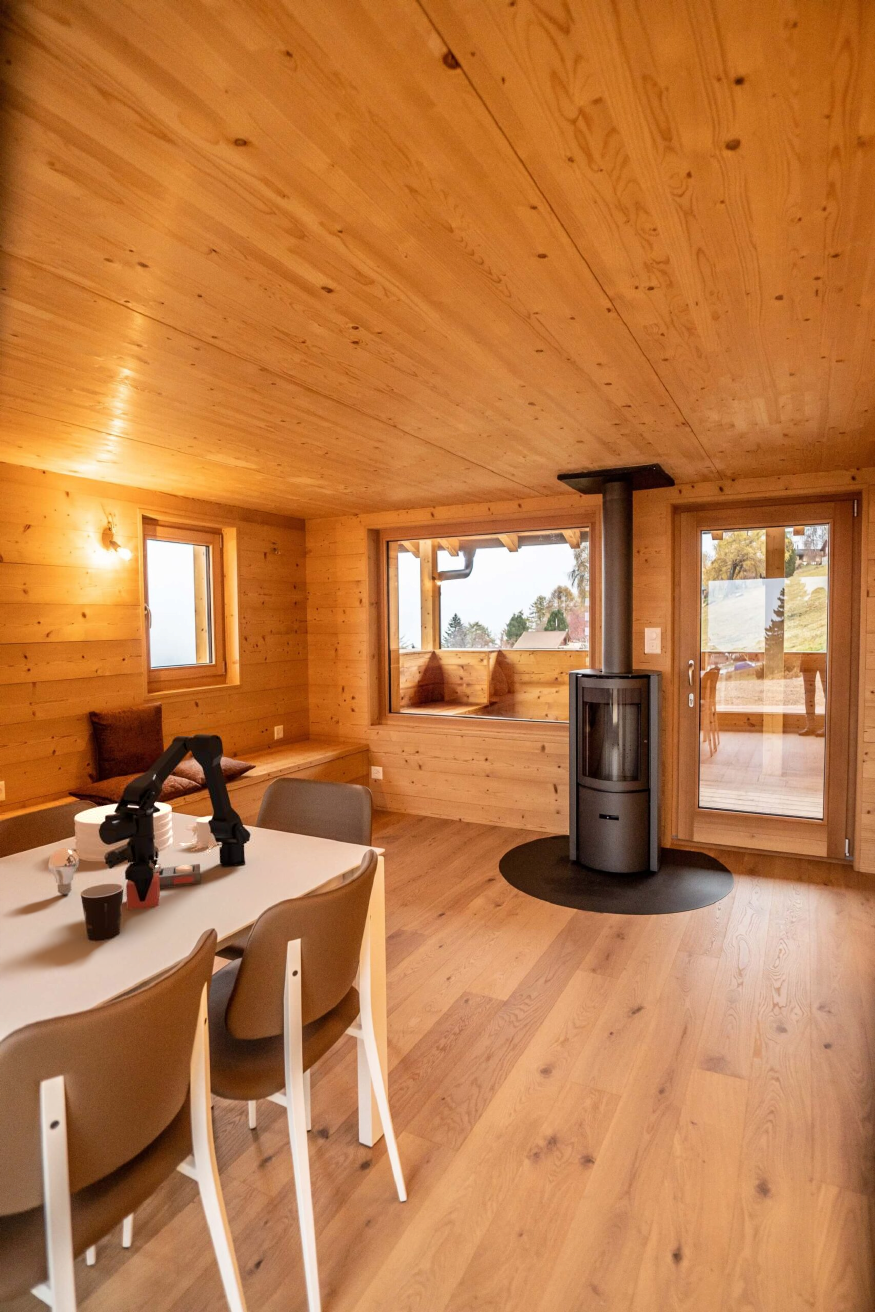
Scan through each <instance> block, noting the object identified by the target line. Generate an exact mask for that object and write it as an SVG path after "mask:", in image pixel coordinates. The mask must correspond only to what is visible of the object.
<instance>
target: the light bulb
mask: <svg viewBox="0 0 875 1312" xmlns="http://www.w3.org/2000/svg"><path fill="white" fill-rule="evenodd" d="M79 860H80V858H78V855H77V854H76V850H73V849H71V848H67V847H65V848H64V847H63V848H60V849H58V850H56V851H54V853H52V855H51V856H50V858H49V860H48V869H49V871H50V872H51V874H52V875H53V877H54V879H55V882H56V884H57V892H58V894H60V895H62V896H63V897H64V896H67V895H69V893H71V891H72V890H73V883H72V882H73V879H74V874H75V872H76V871H77V869H78V867H79V864H80V861H79Z"/></svg>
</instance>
